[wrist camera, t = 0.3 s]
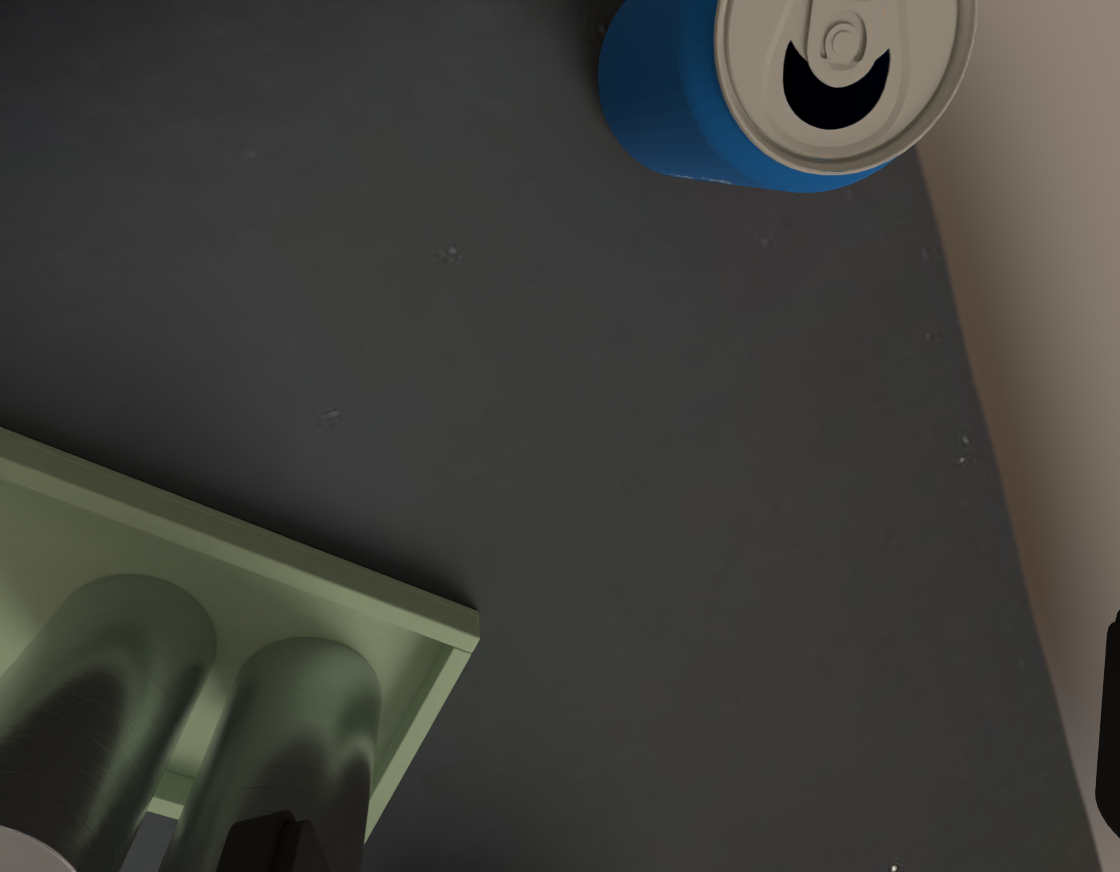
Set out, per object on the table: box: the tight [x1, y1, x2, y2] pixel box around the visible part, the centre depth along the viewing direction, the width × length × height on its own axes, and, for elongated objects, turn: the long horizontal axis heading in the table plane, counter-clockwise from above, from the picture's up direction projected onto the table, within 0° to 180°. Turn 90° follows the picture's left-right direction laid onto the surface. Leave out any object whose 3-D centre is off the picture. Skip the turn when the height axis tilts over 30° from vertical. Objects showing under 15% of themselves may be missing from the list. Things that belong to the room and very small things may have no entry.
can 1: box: [0, 574, 217, 872], centre depth 26 cm, size 6×6×12 cm
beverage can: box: [598, 0, 978, 193], centre depth 22 cm, size 6×6×12 cm
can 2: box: [158, 637, 382, 872], centre depth 28 cm, size 6×6×12 cm
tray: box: [0, 427, 480, 844], centre depth 30 cm, size 13×28×2 cm, turn 62°
